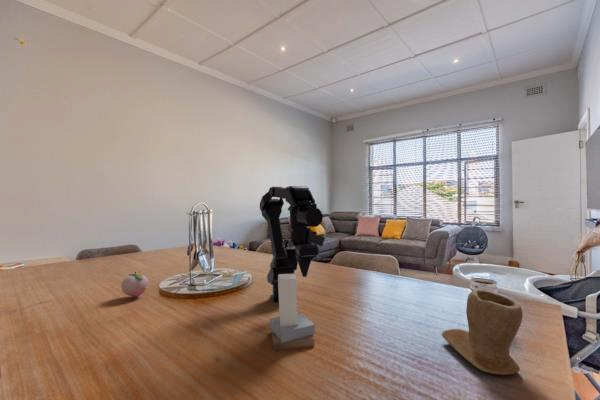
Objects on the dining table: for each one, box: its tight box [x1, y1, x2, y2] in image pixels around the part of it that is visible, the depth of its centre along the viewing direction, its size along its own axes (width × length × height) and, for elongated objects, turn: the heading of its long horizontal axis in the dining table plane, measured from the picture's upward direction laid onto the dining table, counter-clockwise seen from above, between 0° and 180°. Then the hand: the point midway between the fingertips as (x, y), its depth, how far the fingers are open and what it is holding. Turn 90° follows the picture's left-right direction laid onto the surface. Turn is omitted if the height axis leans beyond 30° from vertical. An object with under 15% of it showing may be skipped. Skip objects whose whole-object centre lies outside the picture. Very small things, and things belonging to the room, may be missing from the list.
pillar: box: [278, 272, 299, 326], centre depth 72 cm, size 5×5×12 cm
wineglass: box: [469, 277, 499, 294], centre depth 80 cm, size 7×7×12 cm
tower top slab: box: [269, 311, 316, 343], centre depth 72 cm, size 9×9×2 cm
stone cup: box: [441, 290, 523, 376], centre depth 62 cm, size 15×12×15 cm
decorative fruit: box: [121, 271, 150, 298], centre depth 106 cm, size 9×8×10 cm
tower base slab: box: [270, 329, 315, 351], centre depth 72 cm, size 10×10×2 cm
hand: (299, 273), depth 88 cm, fingers open, 9 cm apart
